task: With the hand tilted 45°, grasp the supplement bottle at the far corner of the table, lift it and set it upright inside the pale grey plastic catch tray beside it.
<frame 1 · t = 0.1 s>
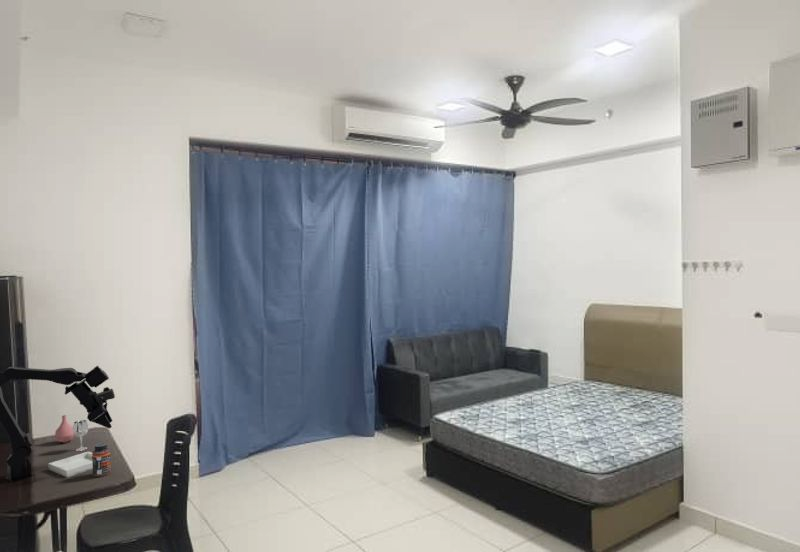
hand: (111, 424, 216), 15 cm above the table, tool tilted 35°, fingers open, 9 cm apart
wineglass: (81, 449, 233), on the table
pink vase: (65, 442, 243), on the table
supplement bottle: (102, 474, 204), on the table
catch tray: (78, 467, 212), on the table
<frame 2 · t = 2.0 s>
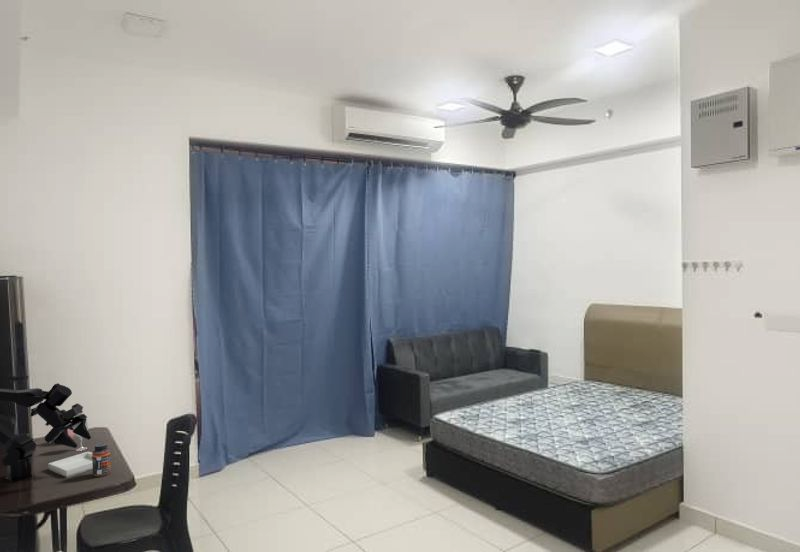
hand: (83, 442, 203), 12 cm above the table, tool tilted 45°, fingers open, 9 cm apart
nothing on the table moved.
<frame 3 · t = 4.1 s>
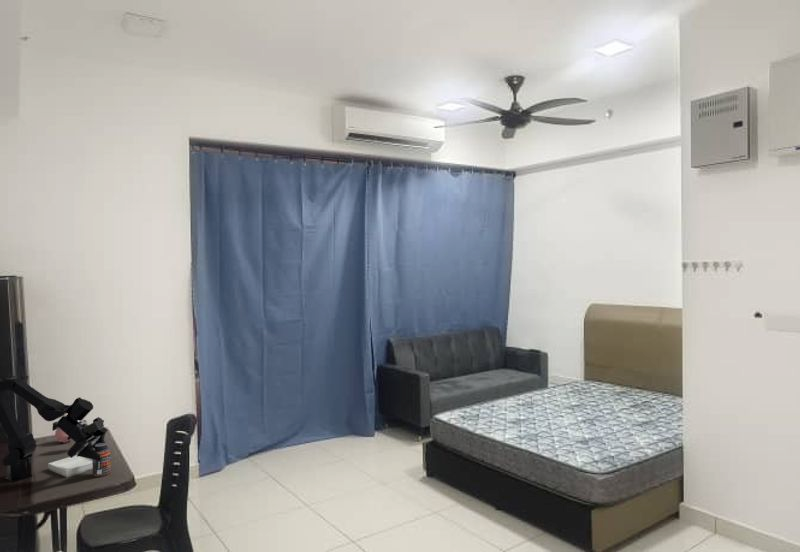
hand: (104, 456, 204), 7 cm above the table, tool tilted 45°, fingers closed on supplement bottle, 6 cm apart
supplement bottle: (102, 474, 204), on the table, touching gripper
everything else where it was.
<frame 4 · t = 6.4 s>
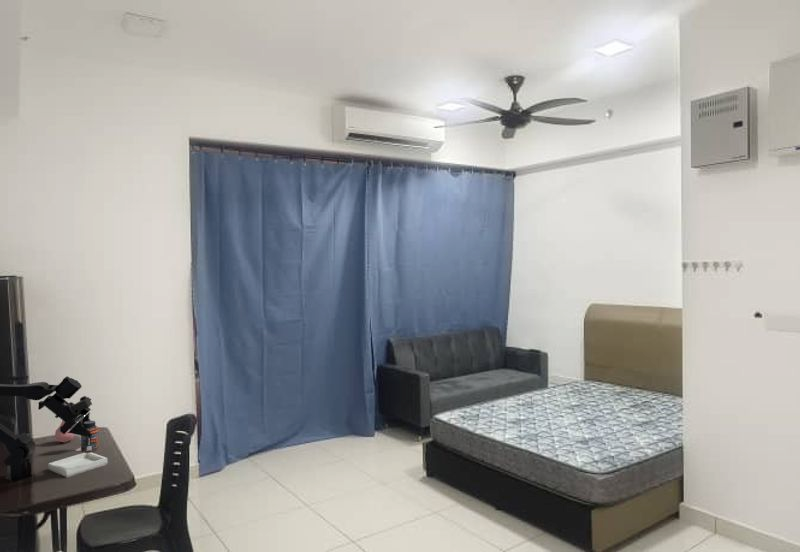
hand: (93, 433, 209), 14 cm above the table, tool tilted 45°, fingers closed on supplement bottle, 6 cm apart
supplement bottle: (89, 451, 209), point 7 cm above the table, touching gripper
everything else where it was.
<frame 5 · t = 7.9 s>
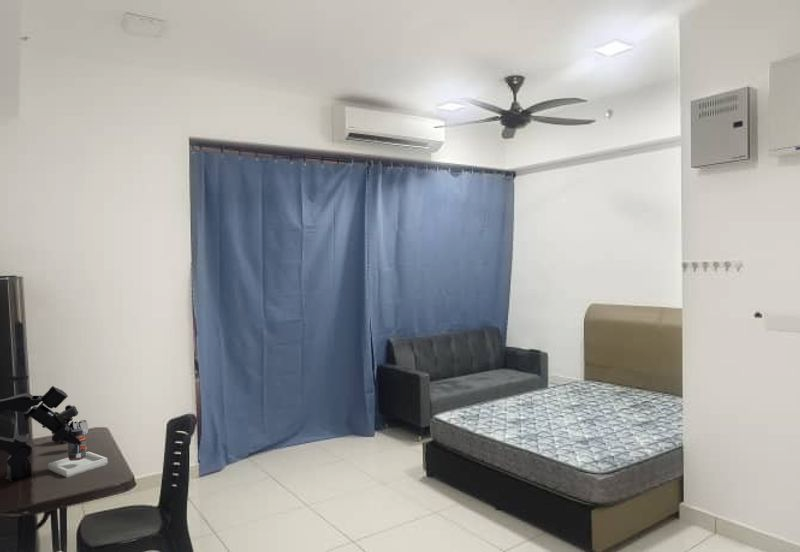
hand: (80, 441, 212), 10 cm above the table, tool tilted 45°, fingers closed on supplement bottle, 6 cm apart
supplement bottle: (77, 459, 212), point 3 cm above the table, touching gripper
everything else where it was.
when the fingers open (8 cm above the table, at t = 8.7 s): supplement bottle stays where it is, resting on catch tray.
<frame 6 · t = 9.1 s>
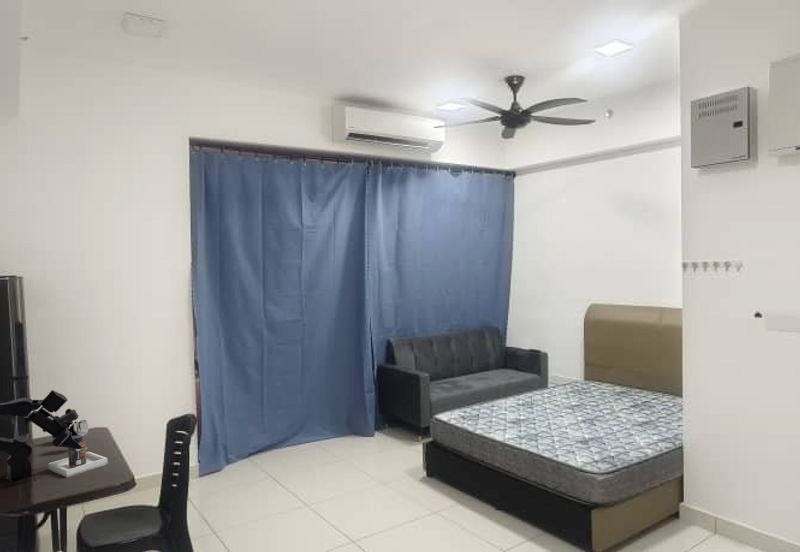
hand: (81, 444, 212), 9 cm above the table, tool tilted 45°, fingers open, 9 cm apart
supplement bottle: (77, 465, 212), point 1 cm above the table, touching catch tray
everything else where it was.
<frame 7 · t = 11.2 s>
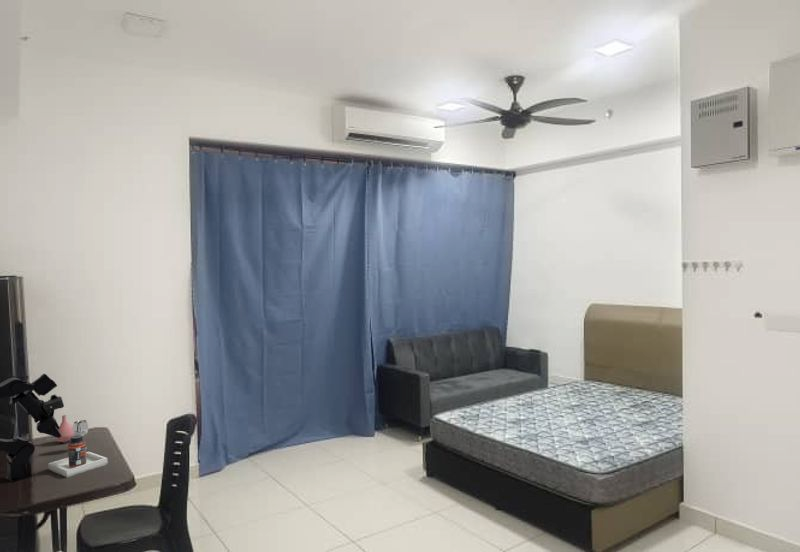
hand: (59, 432, 212), 13 cm above the table, tool tilted 35°, fingers open, 9 cm apart
nothing on the table moved.
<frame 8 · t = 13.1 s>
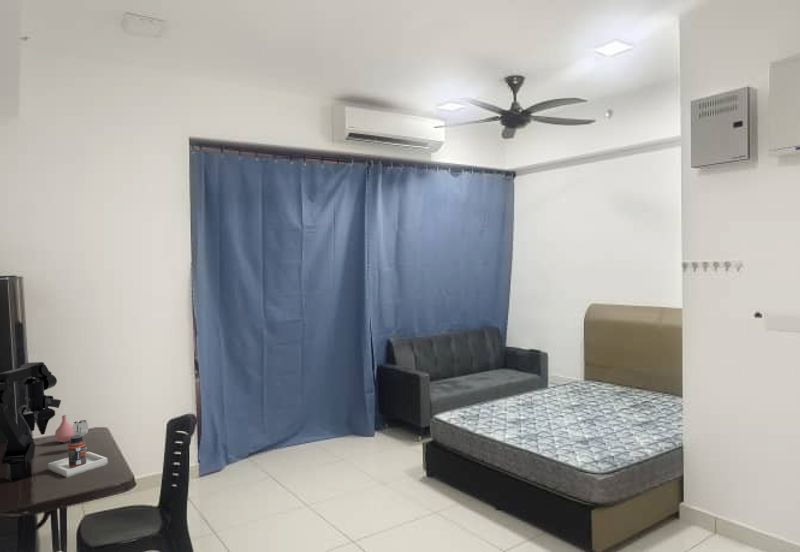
hand: (37, 432, 215), 13 cm above the table, tool pointing down, fingers open, 9 cm apart
nothing on the table moved.
at the end: supplement bottle inside the target area on the catch tray (0.2 cm from its centre), point 0.6 cm above the catch tray's base; supplement bottle tilted 0°; the gripper is holding nothing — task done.
